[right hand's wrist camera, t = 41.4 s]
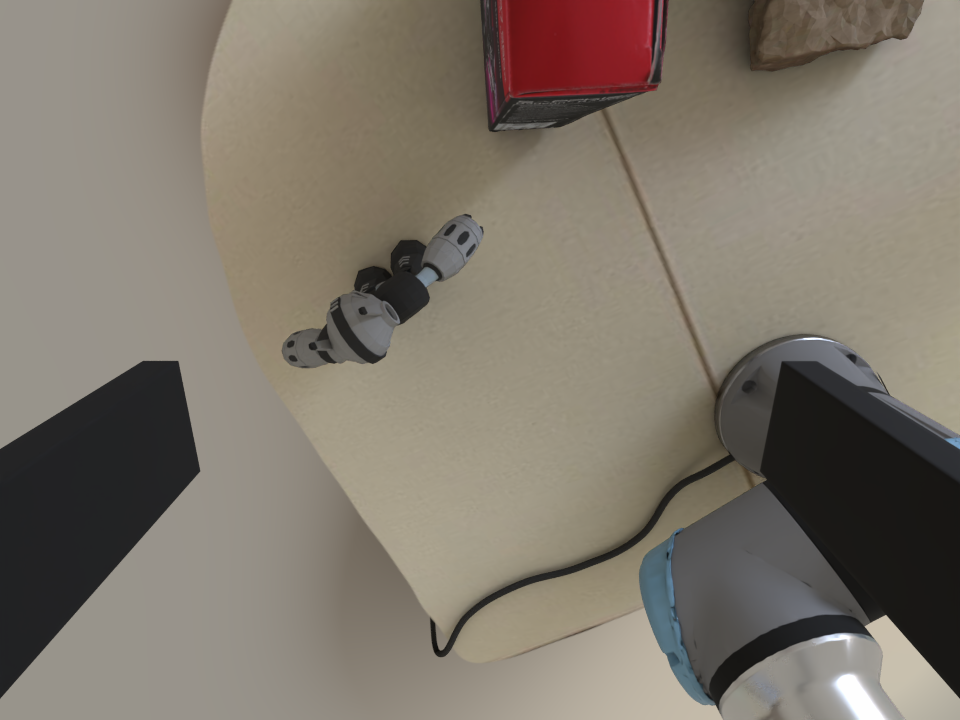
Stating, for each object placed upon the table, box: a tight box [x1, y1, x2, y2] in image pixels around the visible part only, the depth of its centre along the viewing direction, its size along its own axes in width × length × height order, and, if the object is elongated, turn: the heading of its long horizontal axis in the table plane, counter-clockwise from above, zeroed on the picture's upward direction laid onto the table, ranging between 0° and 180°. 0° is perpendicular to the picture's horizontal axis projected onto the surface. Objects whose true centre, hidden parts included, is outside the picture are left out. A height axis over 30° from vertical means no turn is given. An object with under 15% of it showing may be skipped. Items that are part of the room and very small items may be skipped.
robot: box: [282, 214, 484, 368], centre depth 43 cm, size 20×5×20 cm, turn 125°
